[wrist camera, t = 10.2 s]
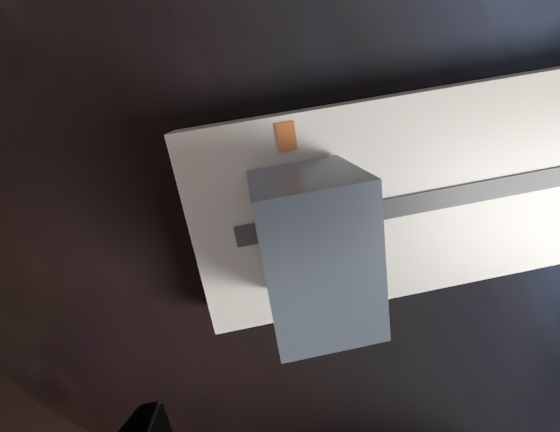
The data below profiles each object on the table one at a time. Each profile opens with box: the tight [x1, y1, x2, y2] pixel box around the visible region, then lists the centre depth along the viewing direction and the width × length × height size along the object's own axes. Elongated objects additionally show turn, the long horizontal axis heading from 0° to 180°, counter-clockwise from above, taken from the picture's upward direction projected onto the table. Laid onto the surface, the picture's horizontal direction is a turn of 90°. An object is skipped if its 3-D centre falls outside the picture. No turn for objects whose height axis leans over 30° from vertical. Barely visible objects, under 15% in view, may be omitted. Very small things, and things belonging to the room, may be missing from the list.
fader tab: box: [246, 155, 391, 364], centre depth 14 cm, size 6×4×5 cm, turn 9°
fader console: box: [164, 66, 560, 335], centre depth 18 cm, size 10×26×3 cm, turn 99°
